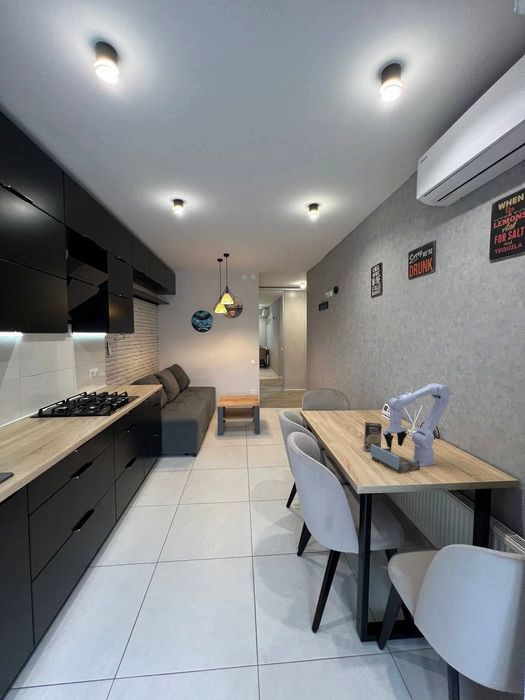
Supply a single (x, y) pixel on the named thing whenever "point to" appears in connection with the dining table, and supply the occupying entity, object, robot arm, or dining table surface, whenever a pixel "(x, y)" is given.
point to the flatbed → (402, 464)
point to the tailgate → (385, 456)
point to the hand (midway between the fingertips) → (394, 446)
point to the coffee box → (372, 435)
